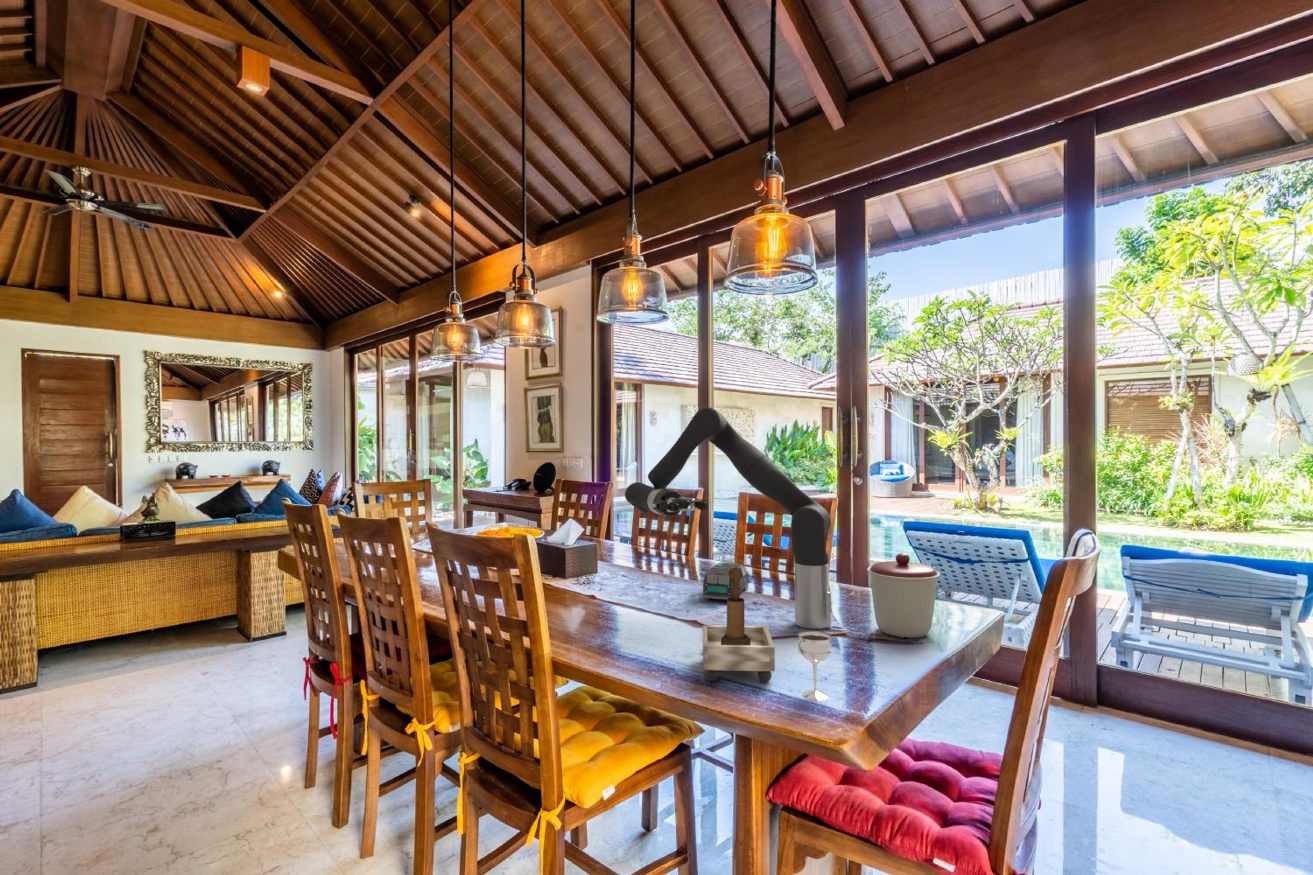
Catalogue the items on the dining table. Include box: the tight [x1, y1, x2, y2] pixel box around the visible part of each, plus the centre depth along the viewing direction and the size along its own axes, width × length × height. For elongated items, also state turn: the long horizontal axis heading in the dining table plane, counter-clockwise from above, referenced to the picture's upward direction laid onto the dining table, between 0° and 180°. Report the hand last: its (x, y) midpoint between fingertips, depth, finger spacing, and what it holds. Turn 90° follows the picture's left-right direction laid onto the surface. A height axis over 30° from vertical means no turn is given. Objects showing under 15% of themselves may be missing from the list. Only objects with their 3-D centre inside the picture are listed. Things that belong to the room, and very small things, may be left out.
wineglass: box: [797, 630, 833, 701], centre depth 125 cm, size 7×7×12 cm
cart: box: [702, 625, 776, 683], centre depth 138 cm, size 15×15×8 cm
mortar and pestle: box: [721, 568, 750, 645], centre depth 138 cm, size 7×6×18 cm
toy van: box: [702, 562, 751, 601], centre depth 209 cm, size 11×25×10 cm, turn 159°
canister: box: [866, 552, 941, 639], centre depth 165 cm, size 18×18×21 cm
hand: (692, 507), depth 164 cm, fingers open, 8 cm apart
